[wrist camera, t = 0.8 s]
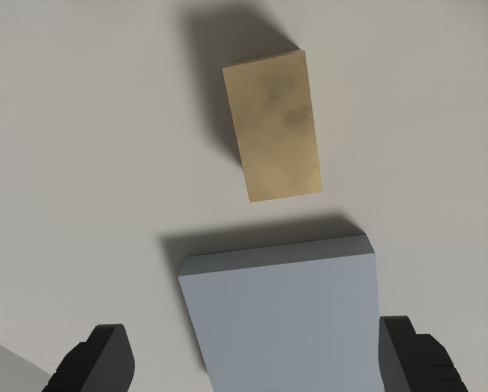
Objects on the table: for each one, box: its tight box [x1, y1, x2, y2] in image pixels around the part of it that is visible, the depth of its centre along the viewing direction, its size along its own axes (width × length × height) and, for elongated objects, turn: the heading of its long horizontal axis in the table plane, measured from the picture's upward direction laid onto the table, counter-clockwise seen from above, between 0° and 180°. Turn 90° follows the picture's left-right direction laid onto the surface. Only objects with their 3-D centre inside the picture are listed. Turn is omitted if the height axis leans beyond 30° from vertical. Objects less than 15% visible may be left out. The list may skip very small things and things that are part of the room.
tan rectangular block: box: [222, 49, 323, 202], centre depth 26 cm, size 5×9×5 cm, turn 11°
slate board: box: [178, 234, 384, 392], centre depth 34 cm, size 16×16×3 cm
